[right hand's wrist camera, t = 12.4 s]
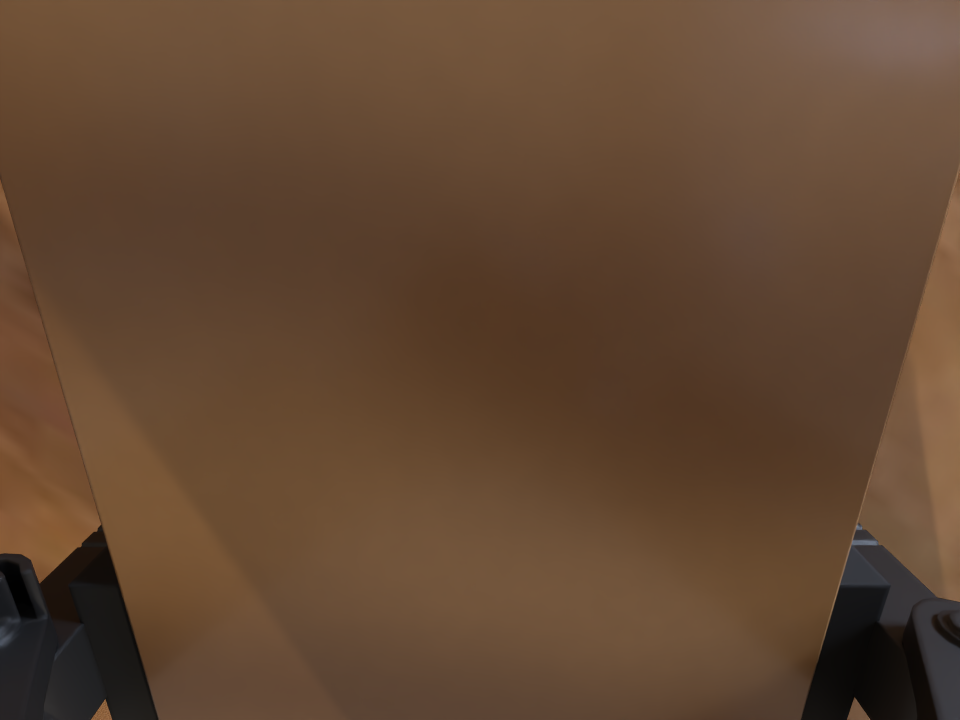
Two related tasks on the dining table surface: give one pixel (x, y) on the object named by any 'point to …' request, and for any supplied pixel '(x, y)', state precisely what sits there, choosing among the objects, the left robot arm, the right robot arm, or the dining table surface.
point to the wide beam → (479, 334)
